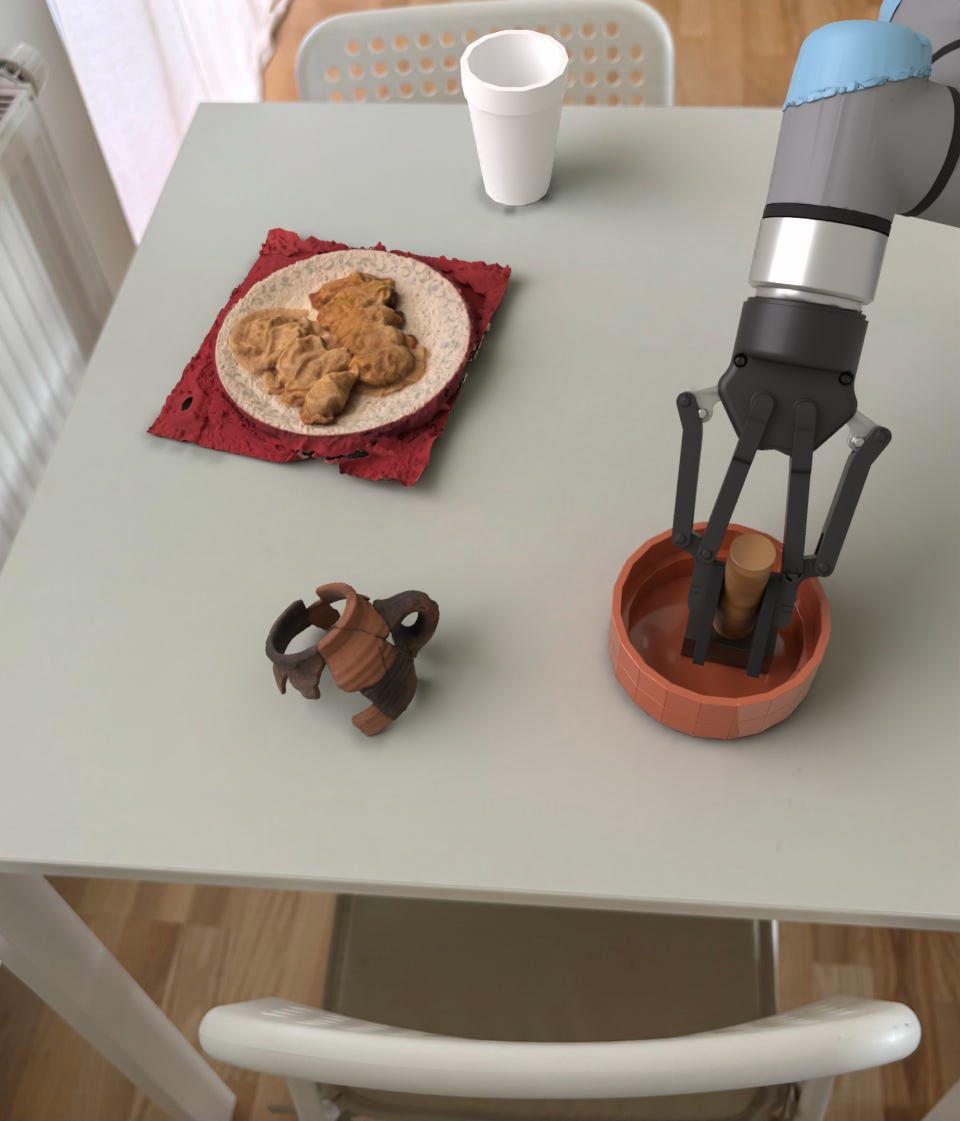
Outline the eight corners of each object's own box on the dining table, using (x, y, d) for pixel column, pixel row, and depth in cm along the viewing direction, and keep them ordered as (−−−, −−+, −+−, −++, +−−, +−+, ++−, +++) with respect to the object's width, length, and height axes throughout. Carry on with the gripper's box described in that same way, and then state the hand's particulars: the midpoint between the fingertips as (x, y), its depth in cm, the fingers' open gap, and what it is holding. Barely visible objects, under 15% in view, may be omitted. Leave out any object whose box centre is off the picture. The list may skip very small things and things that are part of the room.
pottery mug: (337, 772, 74) (266, 695, 69) (308, 697, 82) (243, 624, 77) (483, 668, 74) (422, 585, 70) (440, 604, 82) (383, 525, 78)
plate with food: (514, 283, 100) (513, 252, 97) (416, 495, 86) (412, 466, 83) (275, 240, 105) (267, 210, 102) (147, 434, 91) (134, 405, 88)
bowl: (809, 573, 81) (825, 529, 76) (817, 752, 73) (836, 715, 68) (614, 558, 82) (618, 514, 78) (602, 731, 74) (606, 694, 70)
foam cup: (584, 191, 106) (589, 65, 95) (505, 229, 103) (501, 105, 93) (527, 142, 111) (525, 17, 100) (450, 178, 108) (440, 54, 97)
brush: (775, 625, 77) (806, 535, 68) (767, 674, 75) (798, 588, 66) (690, 607, 79) (709, 516, 69) (679, 655, 76) (698, 567, 67)
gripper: (932, 325, 69) (844, 677, 74) (681, 285, 72) (612, 625, 77) (954, 321, 62) (855, 711, 67) (674, 276, 65) (599, 652, 70)
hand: (725, 664), depth 72 cm, fingers closed on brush, 3 cm apart
